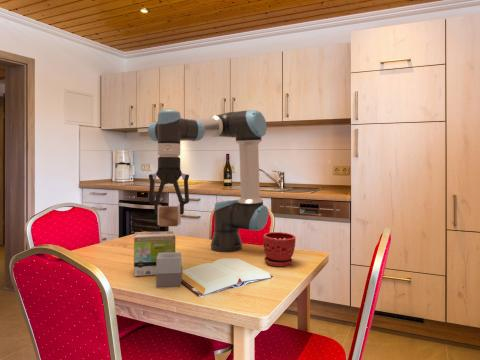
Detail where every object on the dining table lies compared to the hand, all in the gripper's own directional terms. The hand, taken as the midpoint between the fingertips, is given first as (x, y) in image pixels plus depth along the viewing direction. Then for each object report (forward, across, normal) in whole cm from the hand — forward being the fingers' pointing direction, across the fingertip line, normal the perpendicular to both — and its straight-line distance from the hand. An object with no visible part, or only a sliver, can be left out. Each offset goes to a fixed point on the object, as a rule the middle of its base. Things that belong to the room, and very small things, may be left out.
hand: (169, 223), depth 125 cm
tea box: (+21, -7, +14) cm, 26 cm away
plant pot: (+21, +42, +22) cm, 52 cm away
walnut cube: (0, 0, 0) cm, 0 cm away
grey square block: (+16, 0, 0) cm, 16 cm away
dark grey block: (+21, 0, 0) cm, 21 cm away
